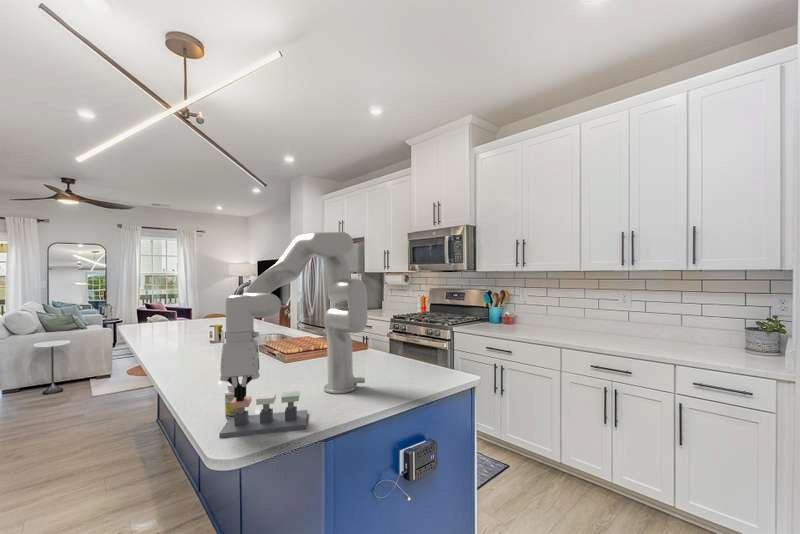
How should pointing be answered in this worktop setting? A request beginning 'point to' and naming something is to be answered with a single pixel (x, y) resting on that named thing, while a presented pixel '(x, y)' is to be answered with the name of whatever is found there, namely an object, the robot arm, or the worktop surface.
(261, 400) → the key mid
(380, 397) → the worktop surface
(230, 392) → the supplement bottle
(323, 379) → the worktop surface
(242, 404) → the key
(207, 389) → the worktop surface
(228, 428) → the keypad board
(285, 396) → the green key
